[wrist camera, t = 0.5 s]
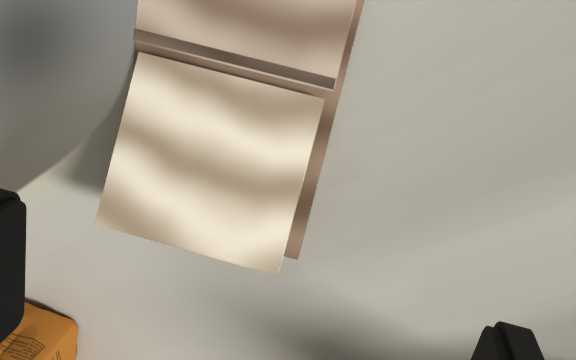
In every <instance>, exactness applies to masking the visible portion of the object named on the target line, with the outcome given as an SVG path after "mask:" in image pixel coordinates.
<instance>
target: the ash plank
mask: <svg viewBox="0 0 576 360" xmlns="http://www.w3.org/2000/svg"><path fill="white" fill-rule="evenodd" d="M324 102H325V101H324V99H322V98H319V97H315V96H311V95H307V94H303V93H299V92H295V91H291V90H287V89H283V88H279V87H275V86H271V85H267V84H263V83H260V82H256V81H252V80H248V79H244V78H240V77H236V76H232V75H228V74H224V73H220V72H216V71H212V70H208V69H204V68H201V67H197V66H193V65H189V64H185V63H181V62H177V61H173V60H169V59H165V58H161V57H157V56H153V55H149V54H146V53H142V52H139V53H138V57H137V61H136V64H135V68H134V72H133V76H132V80H131V84H130V88H129V92H128V96H127V100H126V104H125V108H124V111H123V115H122V119H121V123H120V127H119V131H118V135H117V139H116V143H115V147H114V151H113V155H112V159H111V162H110V166H109V170H108V174H107V178H106V182H105V186H104V190H103V194H102V198H101V202H100V206H99V209H98V213H97V217H96V221H95V224H96V225H100V226H103V227H107V228H110V229H114V230H117V231H121V232H124V233H128V234H131V235H135V236H138V237H142V238H145V239H149V240H153V241H156V242H160V243H163V244H167V245H170V246H174V247H177V248H181V249H184V250H188V251H191V252H195V253H198V254H202V255H205V256H209V257H212V258H216V259H219V260H223V261H226V262H230V263H233V264H237V265H240V266H244V267H248V268H251V269H255V270H258V271H262V272H265V273H269V274H272V275H276V276H277V275H278V273H279V271H280V267H281V263H282V259H283V256H284V252H285V248H286V244H287V241H288V237H289V233H290V229H291V226H292V222H293V218H294V214H295V211H296V207H297V203H298V200H299V196H300V192H301V188H302V185H303V181H304V177H305V173H306V170H307V166H308V162H309V158H310V155H311V151H312V147H313V143H314V140H315V136H316V132H317V128H318V125H319V121H320V117H321V113H322V110H323V106H324Z"/></svg>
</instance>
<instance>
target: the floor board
mask: <svg viewBox="0 0 576 360" xmlns="http://www.w3.org/2000/svg"><path fill="white" fill-rule="evenodd" d="M363 3H364V0H138V4H137V15H136V26H135V29H134V42H136V47H135V58H134V68H135V64H136V61H137V57H138V53H139V52H142V53H146V54H149V55H153V56H157V57H161V58H165V59H169V60H173V61H177V62H181V63H185V64H189V65H193V66H197V67H201V68H204V69H208V70H212V71H216V72H220V73H224V74H228V75H232V76H236V77H240V78H244V79H248V80H252V81H256V82H260V83H263V84H267V85H271V86H275V87H279V88H283V89H287V90H291V91H295V92H299V93H303V94H307V95H311V96H315V97H319V98H322V99H324V101H325V102H324V106H323V110H322V113H321V117H320V121H319V125H318V128H317V132H316V136H315V140H314V143H313V147H312V151H311V155H310V158H309V162H308V166H307V170H306V173H305V177H304V181H303V185H302V188H301V192H300V196H299V200H298V203H297V207H296V211H295V214H294V218H293V222H292V226H291V229H290V233H289V237H288V241H287V244H286V248H285V252H284V256H286V257H289V258H293V259H296V260H298V256H299V253H300V249H301V245H302V241H303V237H304V234H305V230H306V226H307V222H308V218H309V214H310V210H311V206H312V202H313V198H314V194H315V190H316V187H317V183H318V179H319V175H320V171H321V167H322V163H323V159H324V155H325V151H326V147H327V144H328V140H329V136H330V132H331V128H332V124H333V120H334V116H335V112H336V108H337V104H338V100H339V97H340V93H341V89H342V85H343V81H344V77H345V73H346V69H347V65H348V61H349V57H350V54H351V50H352V46H353V42H354V38H355V34H356V30H357V26H358V22H359V18H360V14H361V10H362V7H363ZM134 68H133V72H134Z"/></svg>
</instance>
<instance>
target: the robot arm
mask: <svg viewBox="0 0 576 360" xmlns="http://www.w3.org/2000/svg"><path fill="white" fill-rule="evenodd" d="M25 256H26V205H25V203H23V202H21V200H20V197H19V195H18V194H17V193H15V192H11V191H8V190H4V189H0V343H1V342H3V341H4V340H5V339H6V338H7V337H8V336H9V335H10V334H11V333H12V332H13V331H14V330H15V329H16V328H17V327H18V326H19V324H20V323H21V320H22V318H23V315H24V306H25ZM471 360H544V357H543V355H542V353H541V350H540V348H539V346H538V343H537V341H536V338H535V336H534V334H533V332H532V331H531V330H530V329H527V328H524V327H520V326H516V325H512V324H509V323H505V322H501V321H499V322H497V323H496V325H495V326H494V327H490V326H486V327H485V328H484V329H483V331H482V334H481V336H480V339H479V341H478V343H477V346H476V348H475V351H474V353H473V356H472V358H471Z"/></svg>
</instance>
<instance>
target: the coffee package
mask: <svg viewBox="0 0 576 360" xmlns="http://www.w3.org/2000/svg"><path fill="white" fill-rule="evenodd" d="M77 332H78V326H77V324H76V323H75V322H74V321H73V320H72V319H70V318H67V317H63V316H60V315H58V314H55V313H53V312H50V311H47V310H43V309H40V308H38V307H35V306H33V305H31V304H30V303H27V302H25V306H24V315H23V318H22V320H21V323H20V324H19V326H18V327H17V328H16V329H15V330H14V331H13V332H12V333H11V334H10V335H9V336H8V337H7V338H6V339H5V340H4V341H3V342H1V343H0V360H75V358H76V353H77V345H76V342H77Z"/></svg>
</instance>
